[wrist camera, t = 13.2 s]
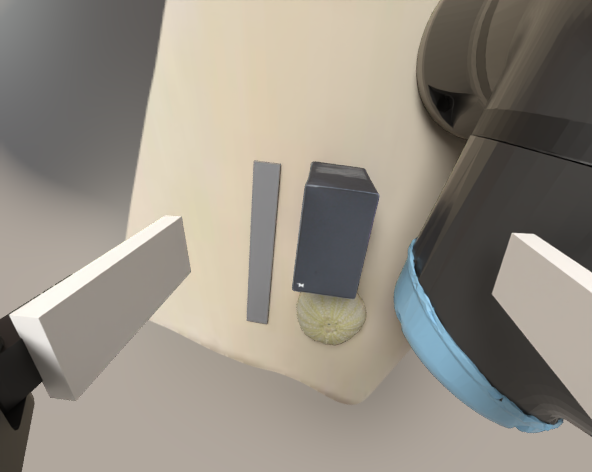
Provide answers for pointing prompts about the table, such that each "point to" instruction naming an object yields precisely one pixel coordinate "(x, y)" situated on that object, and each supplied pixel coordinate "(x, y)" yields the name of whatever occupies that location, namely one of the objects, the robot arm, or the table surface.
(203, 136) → the table surface
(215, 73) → the table surface
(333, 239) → the small box
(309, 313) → the sea urchin shell
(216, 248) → the table surface
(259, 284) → the gray strip
